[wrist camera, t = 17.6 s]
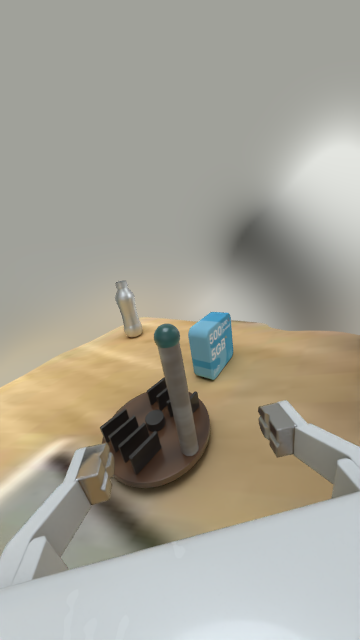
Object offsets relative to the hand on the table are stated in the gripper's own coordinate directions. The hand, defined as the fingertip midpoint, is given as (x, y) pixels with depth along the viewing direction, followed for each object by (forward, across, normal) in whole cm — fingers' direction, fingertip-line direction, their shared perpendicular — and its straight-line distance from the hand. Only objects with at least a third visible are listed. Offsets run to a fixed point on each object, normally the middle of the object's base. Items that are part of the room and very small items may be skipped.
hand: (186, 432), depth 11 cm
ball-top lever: (+17, +5, +18) cm, 25 cm away
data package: (+33, -9, +20) cm, 39 cm away
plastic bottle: (+62, +13, +20) cm, 66 cm away
